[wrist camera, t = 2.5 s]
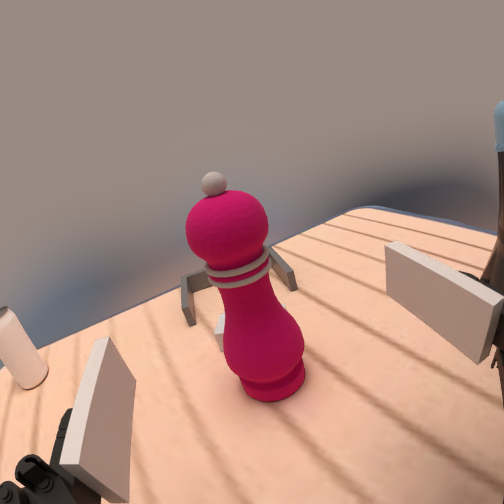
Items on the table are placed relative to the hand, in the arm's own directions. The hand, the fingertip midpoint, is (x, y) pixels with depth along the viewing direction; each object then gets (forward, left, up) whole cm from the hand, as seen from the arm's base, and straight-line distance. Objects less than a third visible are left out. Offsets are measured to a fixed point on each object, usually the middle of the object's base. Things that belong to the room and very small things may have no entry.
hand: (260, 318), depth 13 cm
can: (+35, -22, -15) cm, 44 cm away
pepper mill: (-1, -10, -15) cm, 18 cm away
